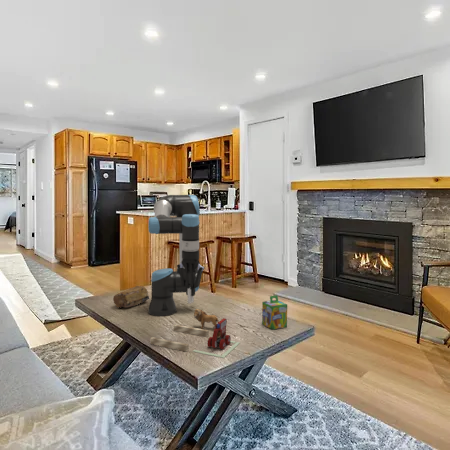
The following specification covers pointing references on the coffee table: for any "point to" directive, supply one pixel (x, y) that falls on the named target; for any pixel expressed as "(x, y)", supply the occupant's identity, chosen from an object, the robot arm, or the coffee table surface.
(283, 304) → the chalk box
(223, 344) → the toy fire truck
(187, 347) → the lane walls
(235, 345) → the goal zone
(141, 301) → the petrified wood
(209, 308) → the coffee table surface
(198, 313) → the lion figurine
